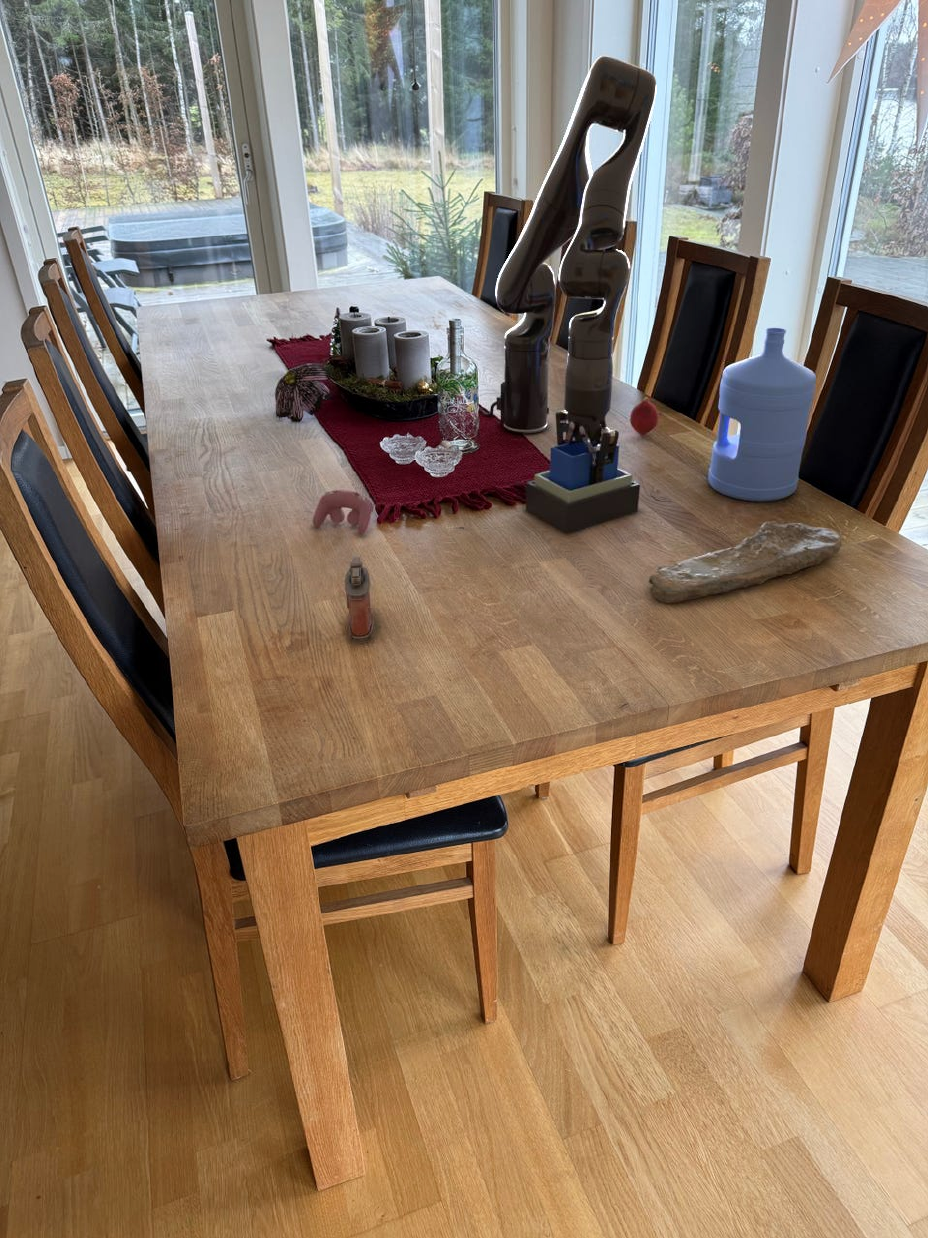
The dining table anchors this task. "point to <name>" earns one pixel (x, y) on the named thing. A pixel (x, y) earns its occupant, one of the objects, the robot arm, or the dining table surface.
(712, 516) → the dining table surface
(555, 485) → the middle bin
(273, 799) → the dining table surface
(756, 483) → the water jug
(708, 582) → the elongated rock
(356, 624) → the lighter
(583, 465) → the blue bin
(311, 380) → the decorative flower
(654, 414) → the onion
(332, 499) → the video game controller
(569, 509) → the outer bin
